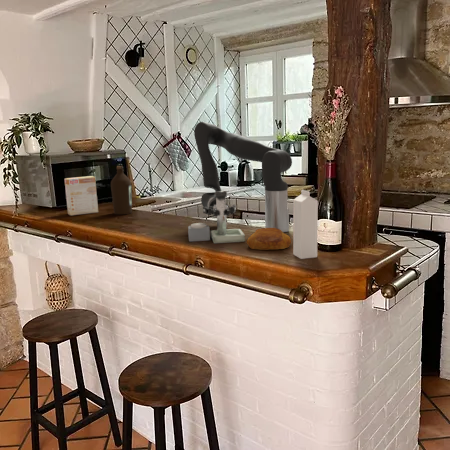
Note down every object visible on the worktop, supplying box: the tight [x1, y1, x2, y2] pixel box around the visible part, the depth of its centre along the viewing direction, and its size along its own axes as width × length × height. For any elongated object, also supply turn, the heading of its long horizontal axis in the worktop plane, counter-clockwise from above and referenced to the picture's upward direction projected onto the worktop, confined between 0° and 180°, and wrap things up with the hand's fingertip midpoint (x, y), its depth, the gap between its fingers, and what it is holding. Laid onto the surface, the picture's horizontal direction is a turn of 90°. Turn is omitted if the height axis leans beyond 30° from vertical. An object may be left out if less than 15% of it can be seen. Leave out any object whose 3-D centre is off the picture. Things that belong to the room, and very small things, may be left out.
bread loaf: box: [246, 227, 292, 251], centre depth 169 cm, size 15×16×8 cm
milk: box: [292, 189, 319, 260], centre depth 154 cm, size 6×6×22 cm
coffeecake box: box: [64, 175, 99, 216], centre depth 251 cm, size 15×7×20 cm, turn 121°
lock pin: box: [214, 190, 228, 236], centre depth 181 cm, size 5×5×17 cm
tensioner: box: [187, 222, 211, 242], centre depth 187 cm, size 8×14×6 cm, turn 8°
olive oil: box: [110, 165, 133, 216], centre depth 246 cm, size 11×11×25 cm
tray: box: [209, 228, 246, 244], centre depth 183 cm, size 12×12×2 cm
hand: (222, 213), depth 178 cm, fingers closed on lock pin, 3 cm apart
